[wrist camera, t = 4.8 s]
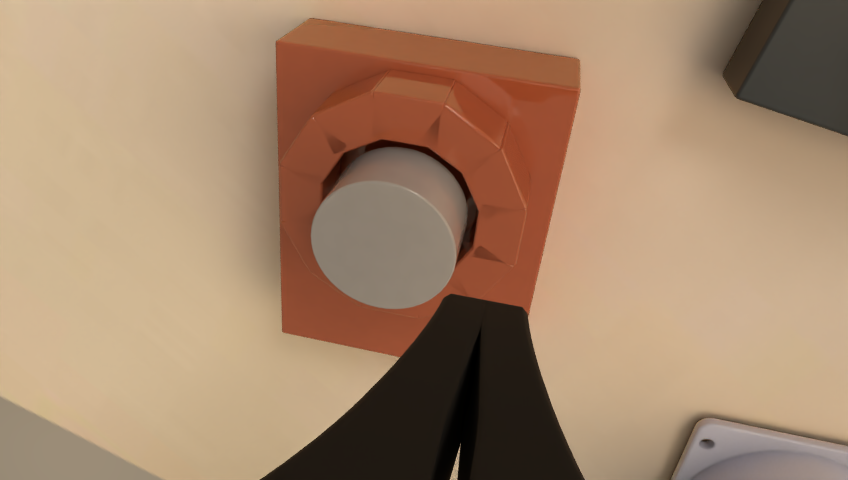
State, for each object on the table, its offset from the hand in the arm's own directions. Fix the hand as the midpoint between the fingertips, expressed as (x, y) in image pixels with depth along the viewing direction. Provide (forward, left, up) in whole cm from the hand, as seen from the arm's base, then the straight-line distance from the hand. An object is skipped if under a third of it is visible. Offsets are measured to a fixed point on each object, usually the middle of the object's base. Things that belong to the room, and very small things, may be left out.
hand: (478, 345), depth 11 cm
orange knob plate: (-3, +3, -10) cm, 11 cm away
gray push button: (-1, +3, -6) cm, 7 cm away
